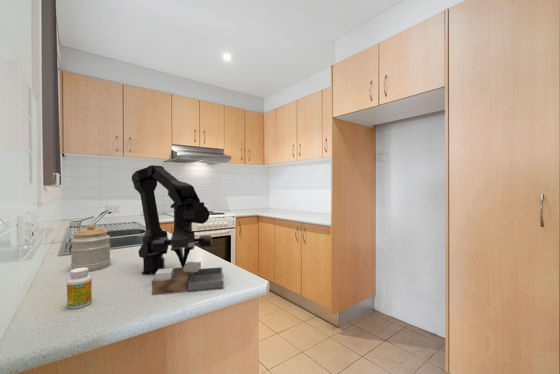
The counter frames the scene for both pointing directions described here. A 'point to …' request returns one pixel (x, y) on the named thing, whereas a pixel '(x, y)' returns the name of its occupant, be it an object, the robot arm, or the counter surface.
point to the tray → (206, 279)
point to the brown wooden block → (172, 283)
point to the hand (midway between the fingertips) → (183, 267)
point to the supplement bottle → (79, 288)
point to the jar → (90, 248)
